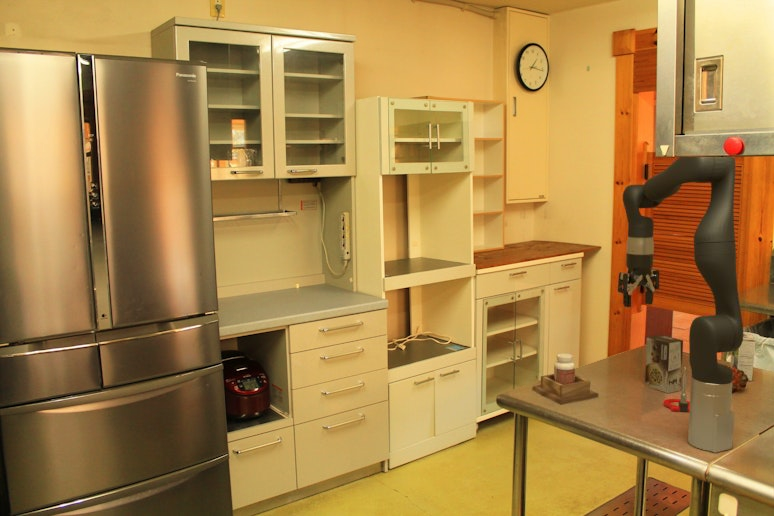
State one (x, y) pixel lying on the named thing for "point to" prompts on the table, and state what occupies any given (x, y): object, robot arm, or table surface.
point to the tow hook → (683, 403)
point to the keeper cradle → (565, 390)
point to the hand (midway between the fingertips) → (638, 305)
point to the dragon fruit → (738, 379)
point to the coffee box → (664, 363)
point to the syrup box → (744, 356)
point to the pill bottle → (564, 369)
